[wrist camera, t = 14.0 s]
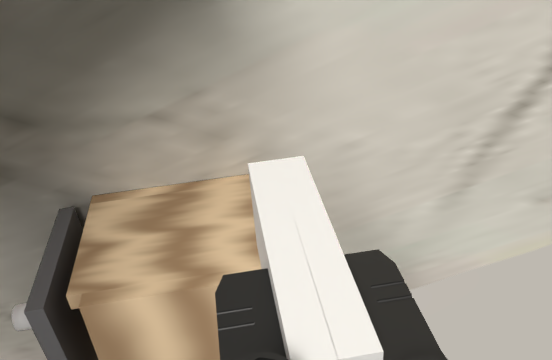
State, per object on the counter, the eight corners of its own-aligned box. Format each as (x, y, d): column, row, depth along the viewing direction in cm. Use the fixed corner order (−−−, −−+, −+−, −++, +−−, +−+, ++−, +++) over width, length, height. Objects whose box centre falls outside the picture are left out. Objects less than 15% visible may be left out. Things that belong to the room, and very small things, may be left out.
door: (95, 346, 51) (75, 459, 42) (39, 212, 43) (-3, 316, 33) (125, 341, 52) (112, 452, 42) (75, 206, 43) (44, 308, 33)
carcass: (133, 329, 52) (120, 455, 41) (92, 195, 43) (62, 309, 33) (272, 306, 53) (296, 422, 42) (259, 172, 45) (284, 274, 34)
